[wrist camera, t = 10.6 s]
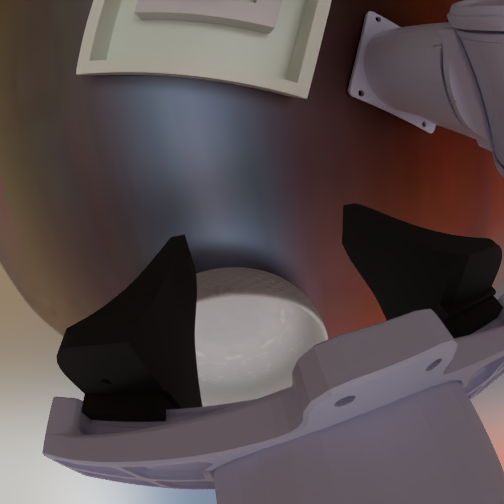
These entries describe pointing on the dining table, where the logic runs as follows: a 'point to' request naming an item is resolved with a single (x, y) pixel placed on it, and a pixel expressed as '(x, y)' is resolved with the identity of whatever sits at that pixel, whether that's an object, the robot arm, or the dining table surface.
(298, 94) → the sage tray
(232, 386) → the cereal bowl
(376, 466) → the robot arm
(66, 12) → the dining table surface
